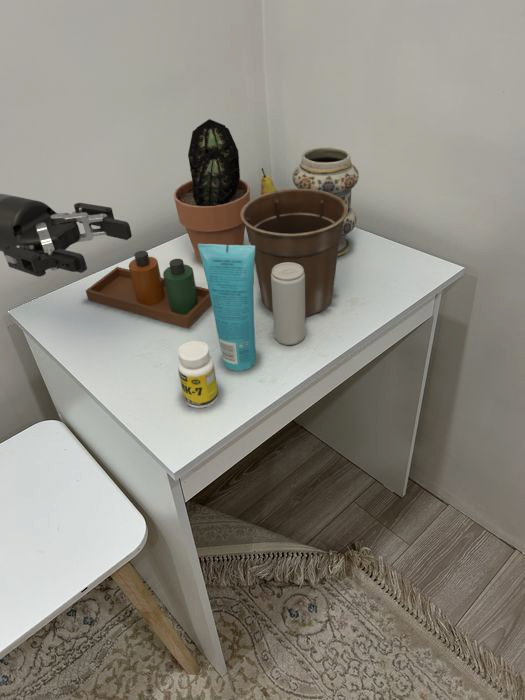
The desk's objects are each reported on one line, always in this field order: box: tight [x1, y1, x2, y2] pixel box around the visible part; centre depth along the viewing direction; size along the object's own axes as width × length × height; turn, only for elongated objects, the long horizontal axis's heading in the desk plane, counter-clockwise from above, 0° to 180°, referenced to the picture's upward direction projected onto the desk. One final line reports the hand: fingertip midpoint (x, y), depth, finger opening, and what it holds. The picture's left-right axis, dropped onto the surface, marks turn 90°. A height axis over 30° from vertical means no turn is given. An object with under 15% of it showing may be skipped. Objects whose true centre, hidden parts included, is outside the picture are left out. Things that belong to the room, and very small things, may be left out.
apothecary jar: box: [291, 146, 360, 258], centre depth 100 cm, size 12×12×18 cm
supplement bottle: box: [177, 340, 219, 409], centre depth 73 cm, size 5×5×8 cm
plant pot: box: [241, 188, 348, 317], centre depth 88 cm, size 16×16×16 cm
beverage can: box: [271, 262, 306, 346], centre depth 81 cm, size 5×5×12 cm
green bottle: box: [162, 258, 198, 315], centre depth 89 cm, size 5×5×9 cm
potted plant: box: [173, 118, 251, 265], centre depth 98 cm, size 14×14×25 cm
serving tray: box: [85, 266, 212, 330], centre depth 94 cm, size 21×9×2 cm, turn 63°
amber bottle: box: [128, 250, 165, 305], centre depth 92 cm, size 5×5×9 cm
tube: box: [198, 244, 257, 372], centre depth 75 cm, size 7×5×19 cm, turn 85°
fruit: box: [260, 167, 277, 195], centre depth 113 cm, size 6×6×12 cm
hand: (107, 247), depth 66 cm, fingers open, 8 cm apart
